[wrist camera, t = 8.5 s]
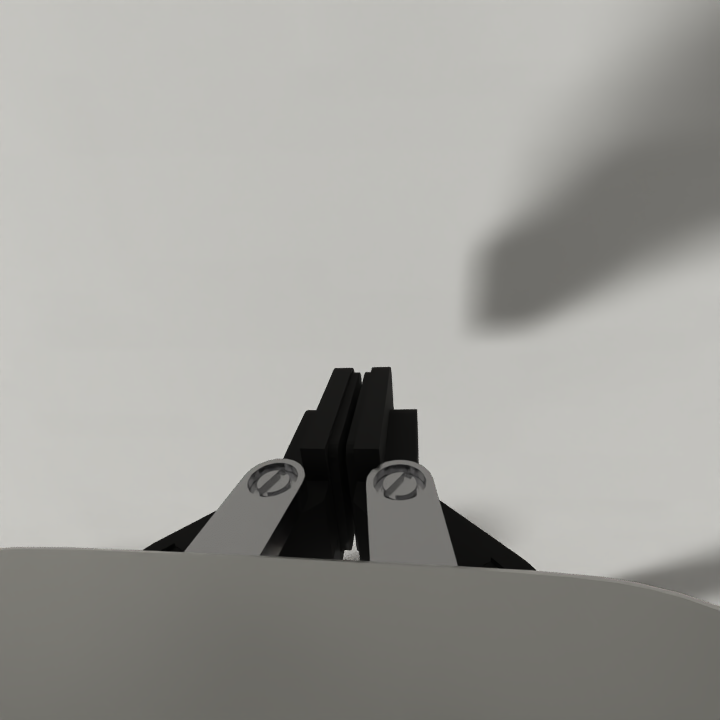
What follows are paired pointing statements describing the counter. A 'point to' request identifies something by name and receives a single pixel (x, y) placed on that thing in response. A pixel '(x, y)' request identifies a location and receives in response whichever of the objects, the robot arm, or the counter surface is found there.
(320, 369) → the counter surface
